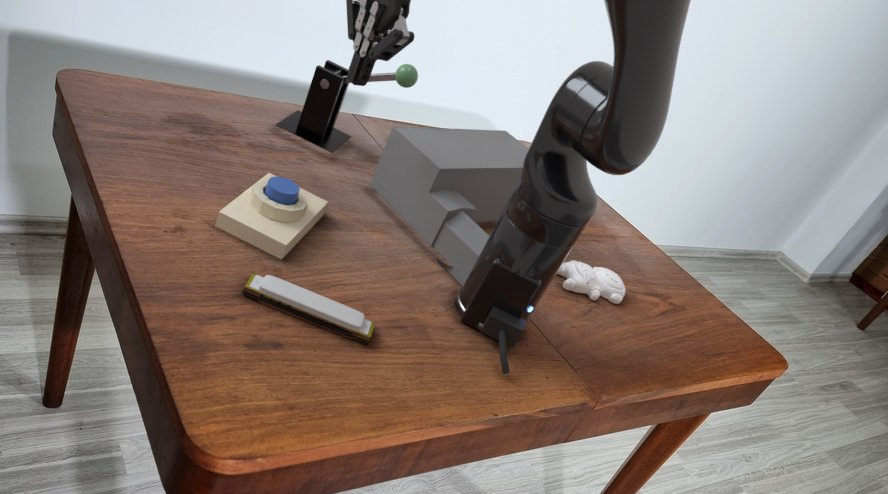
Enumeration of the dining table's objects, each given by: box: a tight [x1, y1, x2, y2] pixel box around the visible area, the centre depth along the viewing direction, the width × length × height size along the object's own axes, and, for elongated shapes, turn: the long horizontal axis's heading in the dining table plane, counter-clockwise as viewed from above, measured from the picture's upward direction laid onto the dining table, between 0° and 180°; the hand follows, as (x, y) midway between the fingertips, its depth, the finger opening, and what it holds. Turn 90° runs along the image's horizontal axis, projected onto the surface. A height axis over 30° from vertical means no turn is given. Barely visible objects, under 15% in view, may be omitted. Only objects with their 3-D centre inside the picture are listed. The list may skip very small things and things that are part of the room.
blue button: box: [265, 175, 300, 205], centre depth 88 cm, size 4×4×2 cm
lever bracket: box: [275, 59, 352, 154], centre depth 111 cm, size 10×9×12 cm
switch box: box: [214, 172, 329, 260], centre depth 89 cm, size 14×9×4 cm, turn 162°
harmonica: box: [241, 272, 376, 345], centre depth 77 cm, size 15×3×2 cm, turn 80°
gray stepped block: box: [369, 125, 529, 288], centre depth 105 cm, size 25×23×11 cm
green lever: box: [332, 63, 419, 89], centre depth 107 cm, size 15×3×3 cm, turn 73°
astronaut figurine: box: [556, 260, 627, 305], centre depth 107 cm, size 9×12×3 cm
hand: (356, 82), depth 90 cm, fingers closed
